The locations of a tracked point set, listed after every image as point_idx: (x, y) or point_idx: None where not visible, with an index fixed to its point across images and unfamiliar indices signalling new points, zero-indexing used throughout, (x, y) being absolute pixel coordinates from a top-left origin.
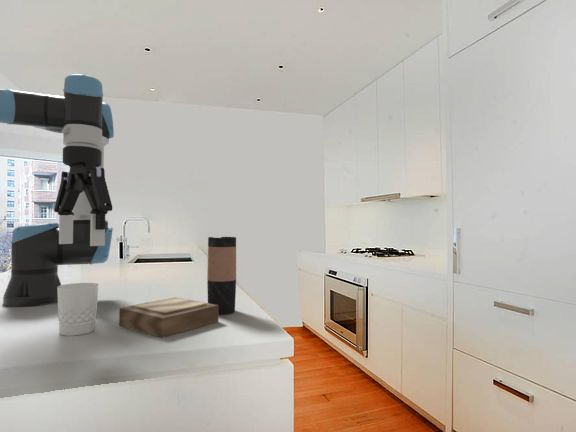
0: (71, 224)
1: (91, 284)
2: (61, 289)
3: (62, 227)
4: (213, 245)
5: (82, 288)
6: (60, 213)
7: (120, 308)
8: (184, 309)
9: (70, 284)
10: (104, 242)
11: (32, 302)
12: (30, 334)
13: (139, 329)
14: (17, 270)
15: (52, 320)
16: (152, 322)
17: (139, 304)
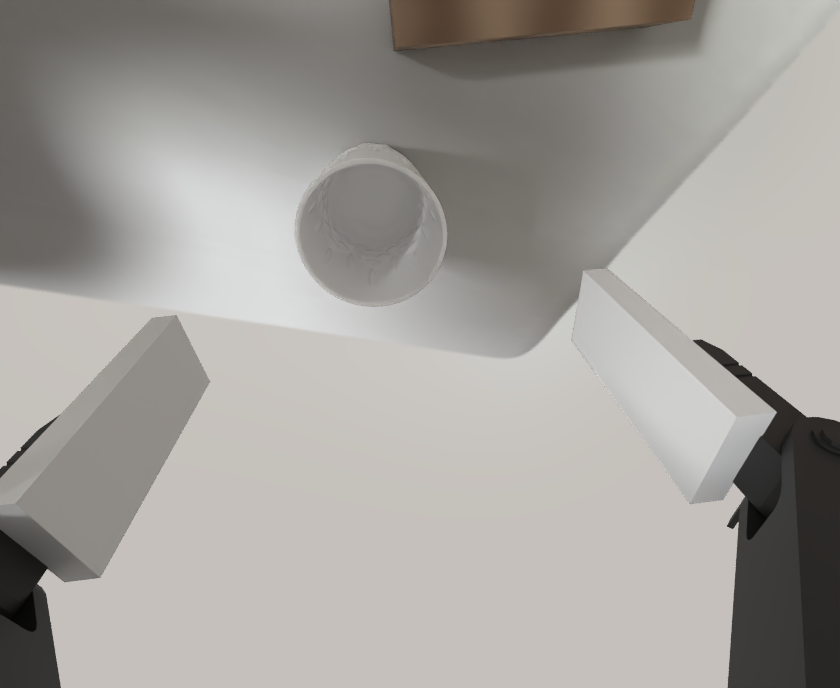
0: (96, 429)
1: (338, 170)
2: (396, 301)
3: (152, 460)
4: None
5: (445, 250)
6: (41, 597)
7: (405, 46)
8: None
9: (302, 246)
10: (614, 277)
11: None
12: (317, 286)
13: (523, 38)
14: None
15: (166, 197)
16: (615, 27)
17: None
